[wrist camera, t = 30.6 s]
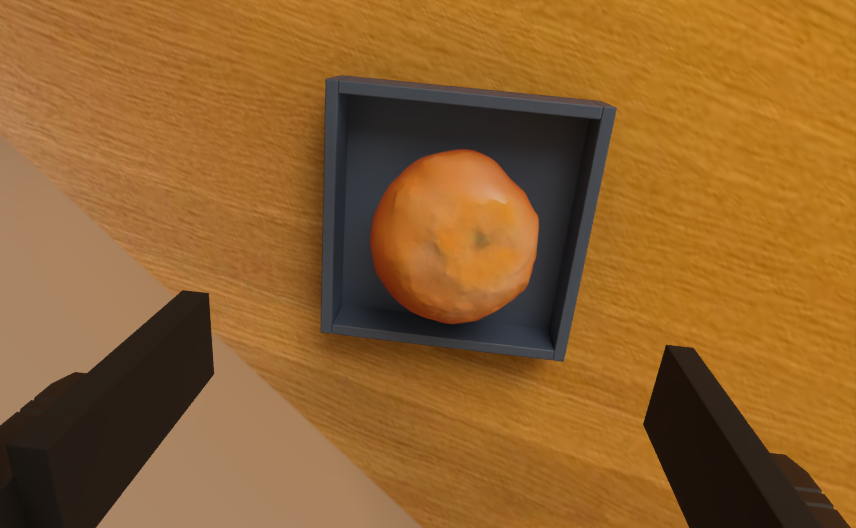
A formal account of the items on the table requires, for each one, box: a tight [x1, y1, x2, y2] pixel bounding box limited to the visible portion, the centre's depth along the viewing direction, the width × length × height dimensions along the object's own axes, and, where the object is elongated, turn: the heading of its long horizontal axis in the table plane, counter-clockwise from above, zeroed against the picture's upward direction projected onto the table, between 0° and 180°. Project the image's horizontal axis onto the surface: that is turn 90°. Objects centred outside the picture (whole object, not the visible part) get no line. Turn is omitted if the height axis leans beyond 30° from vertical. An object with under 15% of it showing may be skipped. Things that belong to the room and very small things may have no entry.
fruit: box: [370, 149, 539, 324], centre depth 27 cm, size 8×8×8 cm
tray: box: [321, 75, 617, 362], centre depth 29 cm, size 13×13×3 cm
